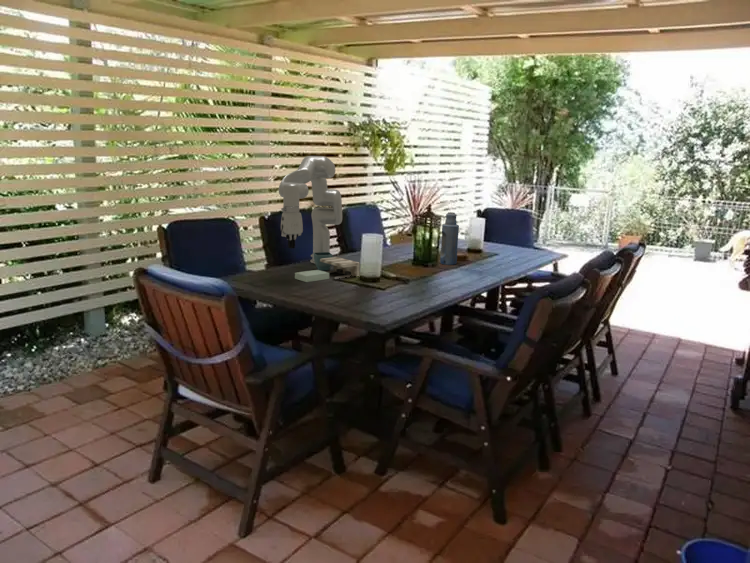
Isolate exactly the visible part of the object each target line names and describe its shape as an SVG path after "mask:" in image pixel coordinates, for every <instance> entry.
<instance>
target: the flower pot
mask: <svg viewBox="0 0 750 563" xmlns="http://www.w3.org/2000/svg"><path fill="white" fill-rule="evenodd" d="M331 257H334V256H333V254H332V253H331V252H330V253H329V252H319V253H314V261H315V264H314V265H315V267H316V270H320V271H330V268H331V266H332V265H331V264H327V263H324V262H320V259H322V258H331Z"/></svg>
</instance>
